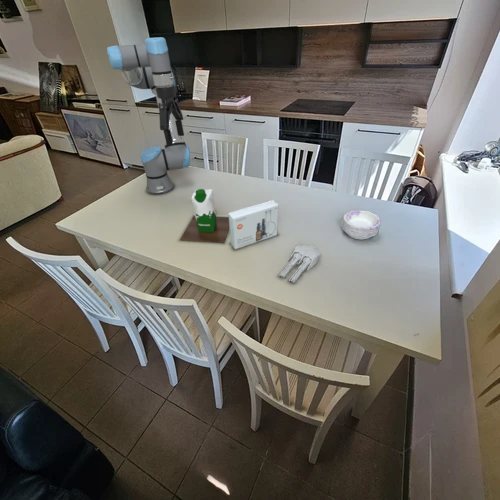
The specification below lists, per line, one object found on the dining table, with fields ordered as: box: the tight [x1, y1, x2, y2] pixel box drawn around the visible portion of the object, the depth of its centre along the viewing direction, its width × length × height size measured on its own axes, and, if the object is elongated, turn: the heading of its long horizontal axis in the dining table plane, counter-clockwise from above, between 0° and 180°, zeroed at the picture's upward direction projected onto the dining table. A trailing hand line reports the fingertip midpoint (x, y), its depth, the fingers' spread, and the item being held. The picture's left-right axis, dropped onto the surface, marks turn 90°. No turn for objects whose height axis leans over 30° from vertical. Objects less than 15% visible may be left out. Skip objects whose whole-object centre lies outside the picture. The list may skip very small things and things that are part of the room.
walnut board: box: [179, 215, 230, 244], centre depth 130 cm, size 20×20×1 cm
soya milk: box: [191, 188, 217, 232], centre depth 124 cm, size 9×9×20 cm
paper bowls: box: [341, 209, 382, 240], centre depth 120 cm, size 15×15×8 cm
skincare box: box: [227, 199, 280, 250], centre depth 118 cm, size 21×5×16 cm, turn 117°
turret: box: [278, 244, 322, 284], centre depth 107 cm, size 10×20×5 cm, turn 141°
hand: (175, 140), depth 125 cm, fingers open, 13 cm apart
